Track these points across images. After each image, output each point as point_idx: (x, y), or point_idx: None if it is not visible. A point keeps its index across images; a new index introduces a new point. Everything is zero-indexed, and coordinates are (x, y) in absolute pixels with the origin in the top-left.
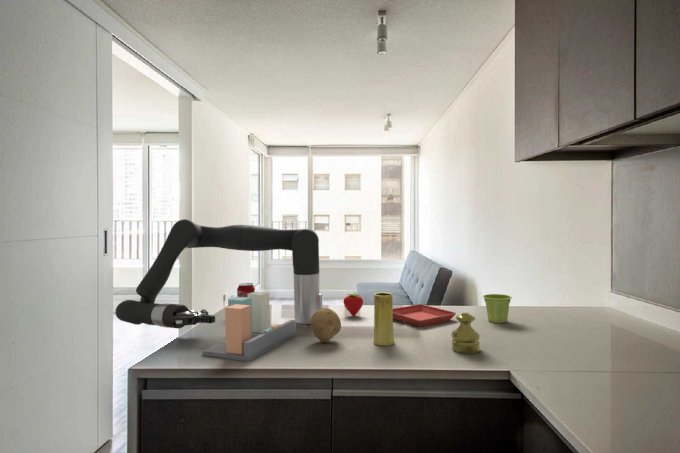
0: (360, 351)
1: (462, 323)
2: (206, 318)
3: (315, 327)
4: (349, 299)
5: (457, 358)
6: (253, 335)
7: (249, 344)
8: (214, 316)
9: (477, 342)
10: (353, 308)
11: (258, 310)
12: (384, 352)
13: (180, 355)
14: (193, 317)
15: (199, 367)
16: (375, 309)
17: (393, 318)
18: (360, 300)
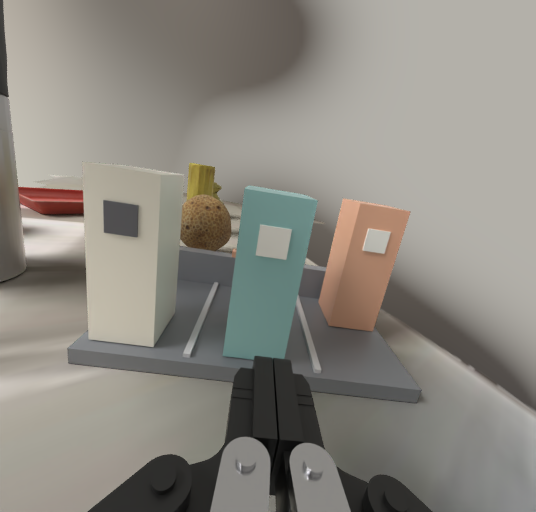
0: (237, 241)
1: (216, 191)
2: (311, 397)
3: (226, 230)
4: None
5: (235, 220)
6: (202, 324)
7: None
8: (260, 357)
9: None
10: None
11: (176, 240)
12: (234, 234)
13: (510, 495)
14: (413, 501)
15: (457, 364)
16: (208, 187)
17: (49, 213)
18: None
